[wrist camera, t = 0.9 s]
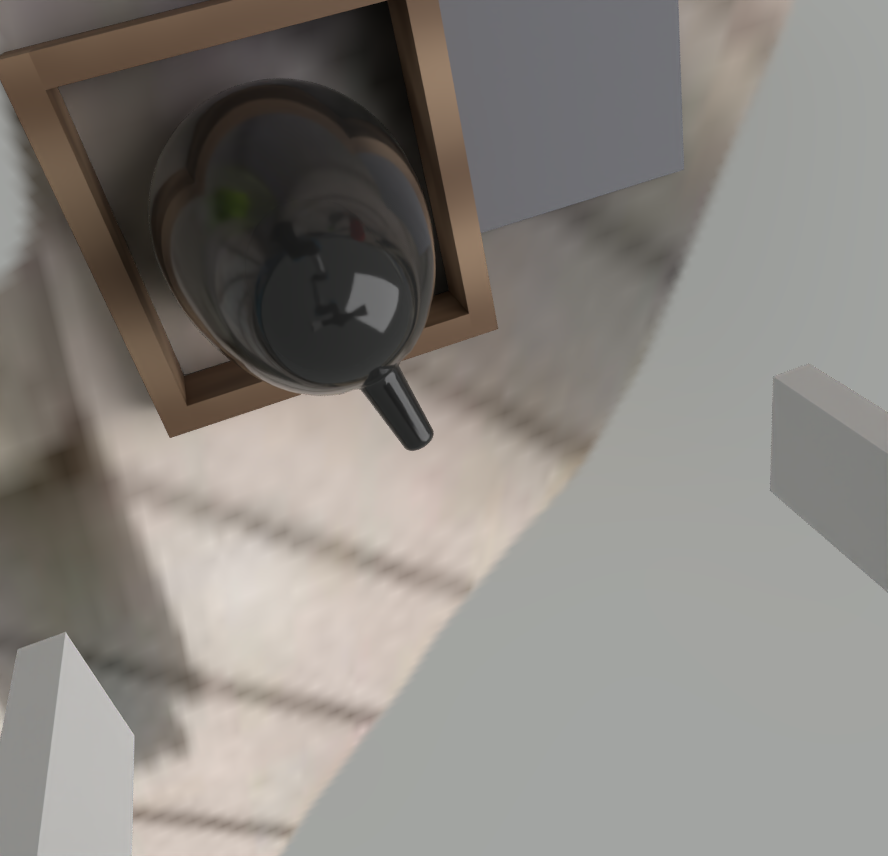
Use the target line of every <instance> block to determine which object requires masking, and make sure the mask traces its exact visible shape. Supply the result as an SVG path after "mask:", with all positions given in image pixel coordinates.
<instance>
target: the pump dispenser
mask: <svg viewBox="0 0 888 856" xmlns="http://www.w3.org/2000/svg"><path fill="white" fill-rule="evenodd" d="M148 217H149V229H150V236H151V241H152V246H153V250H154V253H155V257H156V260H157V262H158V265H159V268H160V270H161V273H162V275H163V277H164V279H165V281H166V283H167V285H168V287H169V288H170V290H171V292H172V294H173V296H174V297H175V299H176V301H177V302H178V304H179V305H180V307H181V308H182V310H183V311H184V313H185V314H186V315H187V317H188V318H189V319H190V321H191V322H192V323H193V324H194V326H195V327H196V328H197V329H198V330H199V331H200V333H201V334H202V335H203V336H204V337H205V338H206V339H207V340H208V341H209V342H210V343H211V344H212V345H213V346H214V347H216V348H217V349H218V350H219V351H220V352H221V353H222V354H223V355H225V356H226V357H227V358H228V359H230V360H231V361H232V362H233V363H235V364H236V365H237V366H239V367H240V368H241V369H243V370H244V371H246V372H248V373H249V374H251V375H252V376H254V377H256V378H258V379H260V380H262V381H264V382H266V383H268V384H270V385H273V386H275V387H278V388H281V389H284V390H287V391H290V392H294V393H299V394H305V395H313V396H330V395H340V394H344V393H347V392H349V391H352V390H356V389H359V390H361V391H362V392H363V394H364V395H365V396H366V397H367V399H368V400H369V401H370V403H371V404H372V405H373V407H374V408H375V409H376V410H377V412H378V413H379V414H380V416H381V417H382V418H383V420H384V421H385V422H386V424H387V425H388V426H389V428H390V429H391V430H392V432H393V433H394V434H395V436H396V437H397V438H398V440H399V441H400V442H401V444H402V445H403V446H404V448H405V449H407V450H409V451H416V450H419V449H421V448H423V447H425V446H426V445H427V444H428V443H429V442H430V441H431V440H432V438H433V434H434V433H433V429H432V427H431V426H430V424H429V422H428V420H427V418H426V416H425V414H424V412H423V411H422V409H421V407H420V405H419V403H418V401H417V399H416V398H415V396H414V394H413V392H412V390H411V388H410V386H409V384H408V382H407V381H406V379H405V377H404V375H403V373H402V371H401V369H400V367H399V364H400V362H401V361H402V360H403V359H404V358H405V357H406V356H407V355H408V354H409V353H410V352H411V350H412V349H413V347H414V346H415V344H416V343H417V341H418V339H419V337H420V336H421V334H422V332H423V329H424V327H425V325H426V322H427V319H428V316H429V313H430V310H431V306H432V301H433V296H434V290H435V280H436V255H435V243H434V235H433V228H432V223H431V218H430V214H429V210H428V206H427V203H426V200H425V196H424V194H423V191H422V188H421V186H420V183H419V181H418V179H417V176H416V174H415V172H414V170H413V168H412V166H411V164H410V162H409V160H408V158H407V156H406V154H405V153H404V151H403V150H402V148H401V146H400V145H399V143H398V142H397V140H396V139H395V138H394V136H393V135H392V134H391V133H390V132H389V130H388V129H387V128H386V127H385V126H384V125H383V124H382V123H381V122H380V121H379V120H378V119H377V118H376V117H375V116H374V115H373V114H372V113H371V112H369V111H368V110H367V109H366V108H364V107H363V106H362V105H360V104H359V103H357V102H356V101H354V100H353V99H351V98H349V97H348V96H346V95H344V94H342V93H340V92H338V91H336V90H334V89H331V88H329V87H326V86H323V85H320V84H316V83H313V82H308V81H303V80H297V79H284V78H276V79H263V80H257V81H252V82H247V83H244V84H240V85H237V86H234V87H232V88H229V89H227V90H225V91H222V92H220V93H218V94H217V95H215V96H213V97H211V98H210V99H208V100H207V101H205V102H204V103H202V104H201V105H200V106H198V107H197V108H196V109H195V110H193V111H192V112H191V113H190V114H189V115H188V116H187V117H186V118H185V119H184V120H183V121H182V122H181V123H180V125H179V126H178V127H177V128H176V129H175V131H174V132H173V134H172V135H171V136H170V138H169V140H168V141H167V143H166V145H165V146H164V148H163V150H162V152H161V154H160V156H159V159H158V161H157V164H156V167H155V170H154V173H153V177H152V181H151V186H150V193H149V204H148Z"/></svg>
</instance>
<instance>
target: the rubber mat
mask: <svg viewBox="0 0 888 856" xmlns="http://www.w3.org/2000/svg"><path fill="white" fill-rule="evenodd" d="M439 6H440V11H441V17H442V22H443V28H444V34H445V39H446V45H447V50H448V56H449V61H450V67H451V72H452V78H453V83H454V89H455V94H456V100H457V105H458V111H459V116H460V122H461V127H462V133H463V138H464V144H465V149H466V155H467V160H468V166H469V171H470V177H471V182H472V188H473V193H474V199H475V204H476V210H477V215H478V221H479V227H480V232H481V233H483V232H486V231H489V230H492V229H495V228H499V227H502V226H505V225H508V224H511V223H515V222H518V221H521V220H524V219H527V218H531V217H534V216H537V215H540V214H543V213H547V212H550V211H553V210H556V209H559V208H563V207H566V206H569V205H572V204H575V203H579V202H582V201H585V200H588V199H591V198H595V197H598V196H601V195H604V194H607V193H610V192H614V191H617V190H620V189H623V188H626V187H630V186H633V185H636V184H639V183H642V182H646V181H649V180H652V179H655V178H658V177H662V176H665V175H668V174H671V173H674V172H678V171H681V170H684V156H683V126H682V97H681V68H680V38H679V9H678V0H439Z"/></svg>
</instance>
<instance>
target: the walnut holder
mask: <svg viewBox="0 0 888 856" xmlns="http://www.w3.org/2000/svg"><path fill="white" fill-rule="evenodd" d="M383 1H388V6H389V11H390V16H391V20H392V25H393V30H394V34H395V39H396V44H397V48H398V53H399V58H400V63H401V67H402V72H403V77H404V81H405V86H406V91H407V95H408V100H409V105H410V110H411V114H412V119H413V124H414V128H415V133H416V138H417V142H418V147H419V152H420V157H421V161H422V166H423V171H424V175H425V180H426V185H427V189H428V194H429V199H430V203H431V208H432V213H433V218H434V222H435V227H436V232H437V236H438V241H439V246H440V250H441V255H442V260H443V265H444V269H445V274H446V279H447V283H448V288H449V291H446V292H443V293H440V294H437V295H434V296H433V301H432V306H431V310H430V313H429V316H428V319H427V322H426V325H425V327H424V329H423V332H422V334H421V336H420V337H419V339H418V341H417V343H416V344H415V346H414V347H413V349H412V350H411V352H410V353H409V354H408V355H407V356H406V357H405V358H404V359H403V360H406V359H409V358H412V357H415V356H418V355H421V354H424V353H427V352H430V351H433V350H436V349H439V348H442V347H445V346H448V345H451V344H454V343H457V342H460V341H463V340H466V339H469V338H472V337H475V336H478V335H481V334H484V333H487V332H490V331H493V330H496V329H498V326H497V320H496V315H495V309H494V304H493V298H492V293H491V287H490V282H489V276H488V271H487V265H486V260H485V254H484V249H483V243H482V238H481V232H480V227H479V221H478V215H477V210H476V204H475V199H474V193H473V188H472V182H471V177H470V171H469V166H468V160H467V155H466V149H465V144H464V138H463V133H462V127H461V122H460V116H459V111H458V105H457V100H456V94H455V89H454V83H453V78H452V72H451V67H450V61H449V56H448V50H447V45H446V39H445V34H444V28H443V22H442V17H441V11H440V6H439V0H209V1H205V2H201V3H197V4H193V5H189V6H185V7H181V8H177V9H173V10H169V11H166V12H162V13H158V14H154V15H150V16H146V17H142V18H138V19H134V20H130V21H126V22H122V23H118V24H114V25H110V26H106V27H102V28H99V29H95V30H91V31H87V32H83V33H79V34H75V35H71V36H67V37H63V38H59V39H55V40H51V41H47V42H43V43H39V44H36V45H32V46H28V47H24V48H20V49H16V50H12V51H8V52H5V53H3V54H2V55H0V80H1V83H2V85H3V87H4V89H5V91H6V93H7V95H8V97H9V99H10V102H11V104H12V106H13V108H14V110H15V112H16V114H17V116H18V118H19V121H20V123H21V125H22V127H23V129H24V131H25V133H26V135H27V137H28V140H29V142H30V144H31V146H32V148H33V150H34V152H35V154H36V156H37V159H38V161H39V163H40V165H41V167H42V169H43V171H44V173H45V175H46V178H47V180H48V182H49V184H50V186H51V188H52V190H53V192H54V194H55V197H56V199H57V201H58V203H59V205H60V207H61V209H62V211H63V213H64V216H65V218H66V220H67V222H68V224H69V226H70V228H71V230H72V232H73V235H74V237H75V239H76V241H77V243H78V245H79V247H80V249H81V251H82V254H83V256H84V258H85V260H86V262H87V264H88V266H89V268H90V270H91V272H92V275H93V277H94V279H95V281H96V283H97V285H98V287H99V289H100V291H101V294H102V296H103V298H104V300H105V302H106V304H107V306H108V308H109V310H110V313H111V315H112V317H113V319H114V321H115V323H116V325H117V327H118V329H119V332H120V334H121V336H122V338H123V340H124V342H125V344H126V346H127V348H128V351H129V353H130V355H131V357H132V359H133V361H134V363H135V365H136V367H137V370H138V372H139V374H140V376H141V378H142V380H143V382H144V384H145V386H146V389H147V391H148V393H149V395H150V397H151V399H152V401H153V403H154V405H155V408H156V410H157V412H158V414H159V416H160V418H161V420H162V422H163V424H164V427H165V429H166V431H167V433H168V435H169V437H170V438H172V437H175V436H178V435H181V434H184V433H187V432H190V431H193V430H196V429H199V428H202V427H205V426H208V425H211V424H214V423H217V422H220V421H223V420H226V419H229V418H232V417H235V416H238V415H241V414H244V413H247V412H250V411H253V410H256V409H259V408H262V407H265V406H268V405H271V404H274V403H277V402H280V401H283V400H286V399H289V398H292V397H295V396H298V395H301V394H299V393H294V392H290V391H287V390H284V389H281V388H278V387H275V386H273V385H270V384H268V383H266V382H264V381H262V380H260V379H258V378H256V377H254V376H252V375H251V374H249V373H248V372H246V371H244V370H243V369H241V368H240V367H239V366H237V365H236V364H235V363H233V362H232V361H229V362H226V363H223V364H220V365H217V366H214V367H211V368H207V369H204V370H201V371H198V372H195V373H192V374H189V375H186V376H184V374H183V372H182V370H181V367H180V365H179V363H178V360H177V358H176V356H175V354H174V351H173V349H172V347H171V344H170V342H169V340H168V338H167V335H166V333H165V331H164V329H163V326H162V324H161V322H160V319H159V317H158V315H157V313H156V310H155V308H154V306H153V303H152V301H151V299H150V297H149V294H148V292H147V290H146V288H145V285H144V283H143V281H142V278H141V276H140V274H139V272H138V269H137V267H136V265H135V262H134V260H133V258H132V256H131V253H130V251H129V249H128V247H127V244H126V242H125V240H124V237H123V235H122V233H121V231H120V228H119V226H118V224H117V221H116V219H115V217H114V215H113V212H112V210H111V208H110V206H109V203H108V201H107V199H106V196H105V194H104V192H103V190H102V187H101V185H100V183H99V180H98V178H97V176H96V174H95V171H94V169H93V167H92V165H91V162H90V160H89V158H88V155H87V153H86V151H85V149H84V146H83V144H82V142H81V139H80V137H79V135H78V133H77V130H76V128H75V126H74V124H73V121H72V119H71V117H70V114H69V112H68V110H67V108H66V105H65V103H64V101H63V98H62V96H61V94H60V92H59V89H58V87H59V86H63V85H67V84H70V83H74V82H78V81H82V80H86V79H89V78H93V77H97V76H101V75H105V74H109V73H112V72H116V71H120V70H124V69H128V68H131V67H135V66H139V65H143V64H147V63H150V62H154V61H158V60H162V59H166V58H169V57H173V56H177V55H181V54H185V53H189V52H192V51H196V50H200V49H204V48H208V47H211V46H215V45H219V44H223V43H227V42H230V41H234V40H238V39H242V38H246V37H249V36H253V35H257V34H261V33H265V32H269V31H272V30H276V29H280V28H284V27H288V26H291V25H295V24H299V23H303V22H307V21H310V20H314V19H318V18H322V17H326V16H329V15H333V14H337V13H341V12H345V11H349V10H352V9H356V8H360V7H364V6H368V5H371V4H375V3H379V2H383ZM403 360H402V361H403Z"/></svg>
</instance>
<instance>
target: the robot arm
mask: <svg viewBox="0 0 888 856" xmlns="http://www.w3.org/2000/svg"><path fill="white" fill-rule="evenodd" d="M770 480H771V481H770V491H771V492H772V493H773V494H774V495H775V496H777V497H778V498H779V499H780V500H781V501H783V502H784V503H785V504H786V505H787V506H788V507H790V508H791V509H792V510H793V511H794V512H795V513H796V514H797V515H799V516H800V517H801V518H802V519H803V520H804V521H806V522H807V523H808V524H809V525H810V526H811V527H812V528H814V529H815V530H816V531H817V532H818V533H819V534H821V535H822V536H823V537H824V538H825V539H826V540H828V541H829V542H830V543H831V544H832V545H833V546H834V547H836V548H837V549H838V550H839V551H840V552H841V553H843V554H844V555H845V556H846V557H847V558H848V559H849V560H851V561H852V562H853V563H854V564H855V565H857V566H858V567H859V568H860V569H861V570H862V571H863V572H865V573H866V574H867V575H868V576H869V577H870V578H871V579H873V580H874V581H875V582H876V583H877V584H878V585H880V586H881V587H882V588H883V589H884V590H885V591H886V592H888V412H887V411H885V410H883V409H882V408H880V407H878V406H877V405H875V404H873V403H872V402H870V401H869V400H867V399H866V398H864V397H862V396H861V395H859V394H858V393H856V392H854V391H852V390H851V389H849V388H848V387H846V386H845V385H843V384H841V383H840V382H838V381H836V380H835V379H833V378H832V377H830V376H828V375H827V374H825V373H824V372H822V371H820V370H819V369H817V368H816V367H814V366H812V365H811V364H806V365H804V366H800V367H798V368H795V369H792V370H789V371H787V372H784V373H781V374H778V375H776V376H773V403H772V442H771V478H770ZM133 777H134V734H133V733H132V731H131V730H130V728H129V727H128V725H127V724H126V722H125V721H124V719H123V718H122V716H121V715H120V713H119V712H118V710H117V709H116V707H115V706H114V704H113V703H112V701H111V700H110V698H109V697H108V695H107V694H106V692H105V691H104V689H103V688H102V686H101V685H100V683H99V682H98V680H97V679H96V677H95V676H94V674H93V673H92V671H91V670H90V668H89V667H88V665H87V664H86V662H85V661H84V659H83V658H82V656H81V655H80V653H79V652H78V650H77V649H76V647H75V646H74V644H73V643H72V641H71V640H70V638H69V637H68V635H67V634H66V632H64V633H62V634H59V635H56V636H53V637H51V638H48V639H45V640H42V641H39V642H37V643H34V644H31V645H28V646H26V647H23V648H20V649H18V650H17V656H16V661H15V666H14V671H13V676H12V681H11V687H10V692H9V697H8V702H7V707H6V713H5V718H4V723H3V728H2V733H1V739H0V856H132V823H133Z"/></svg>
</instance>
